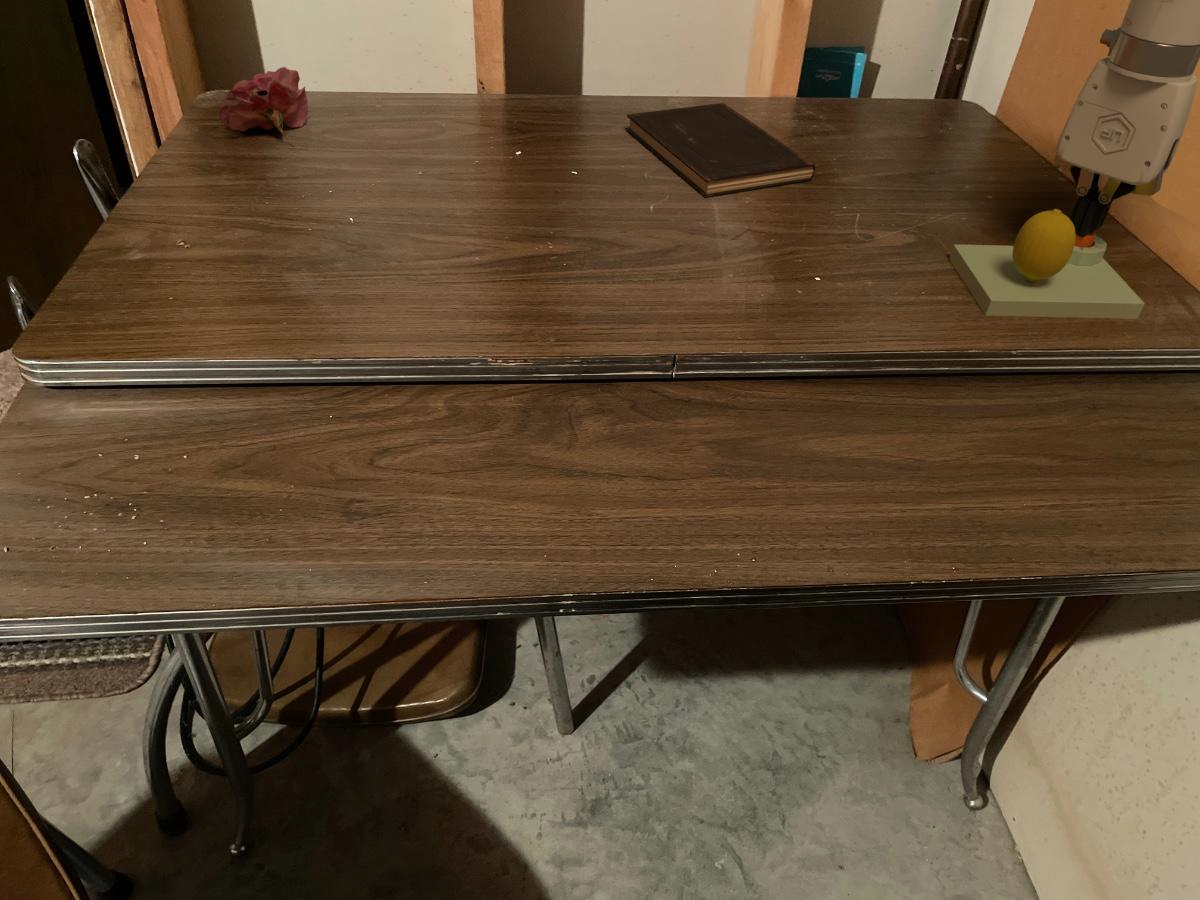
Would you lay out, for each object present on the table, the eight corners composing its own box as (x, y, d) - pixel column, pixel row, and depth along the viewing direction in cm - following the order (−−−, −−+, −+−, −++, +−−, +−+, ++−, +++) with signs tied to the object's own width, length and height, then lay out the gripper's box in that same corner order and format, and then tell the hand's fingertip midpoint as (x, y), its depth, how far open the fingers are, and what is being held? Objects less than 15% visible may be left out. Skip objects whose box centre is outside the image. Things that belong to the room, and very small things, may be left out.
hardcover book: (704, 197, 113) (707, 180, 111) (626, 130, 128) (626, 114, 127) (813, 180, 118) (816, 163, 116) (724, 118, 134) (726, 102, 132)
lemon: (1066, 295, 94) (1096, 223, 88) (1012, 293, 94) (1039, 221, 88) (1046, 269, 98) (1074, 198, 93) (995, 267, 98) (1020, 196, 93)
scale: (1082, 257, 104) (1094, 228, 102) (1137, 319, 94) (1151, 289, 92) (944, 253, 104) (953, 225, 102) (985, 316, 94) (996, 286, 91)
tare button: (1083, 240, 101) (1089, 225, 100) (1094, 252, 99) (1100, 237, 98) (1058, 239, 101) (1064, 225, 100) (1069, 251, 99) (1075, 236, 98)
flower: (235, 152, 126) (237, 77, 125) (309, 159, 127) (312, 85, 126) (209, 131, 114) (212, 48, 113) (291, 138, 115) (294, 57, 115)
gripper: (1061, 42, 90) (1002, 216, 101) (1221, 84, 81) (1136, 268, 93) (1096, 29, 94) (1034, 198, 105) (1251, 68, 85) (1166, 246, 97)
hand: (1082, 230), depth 99 cm, fingers closed
